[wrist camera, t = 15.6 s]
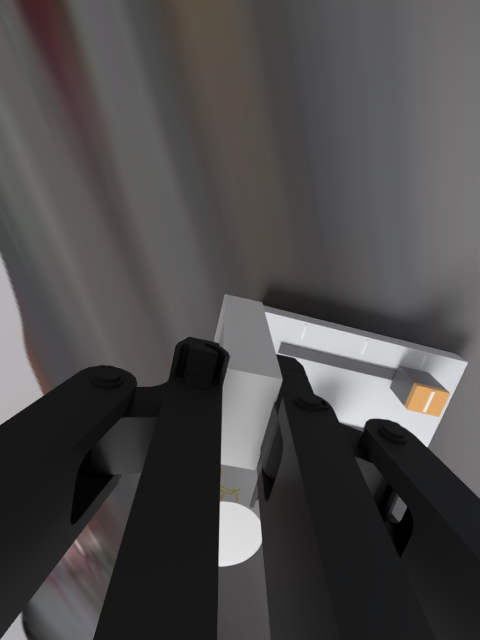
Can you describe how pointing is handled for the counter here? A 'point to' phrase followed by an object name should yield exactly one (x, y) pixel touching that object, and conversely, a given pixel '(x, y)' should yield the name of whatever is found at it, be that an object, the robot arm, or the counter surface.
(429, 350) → the panel
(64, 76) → the counter surface
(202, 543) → the robot arm
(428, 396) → the fader orange
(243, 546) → the cup
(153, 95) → the counter surface
